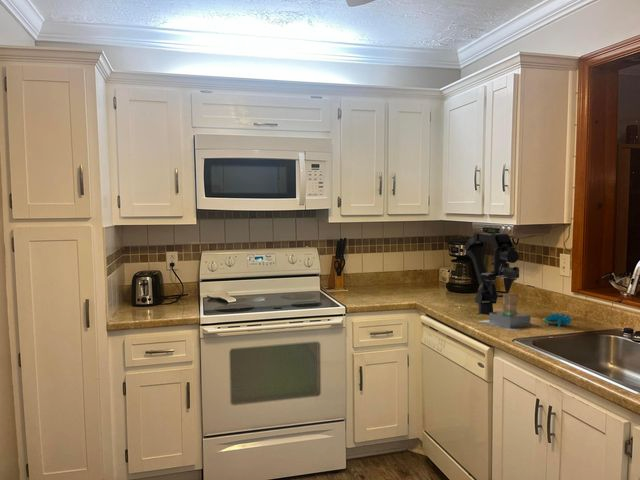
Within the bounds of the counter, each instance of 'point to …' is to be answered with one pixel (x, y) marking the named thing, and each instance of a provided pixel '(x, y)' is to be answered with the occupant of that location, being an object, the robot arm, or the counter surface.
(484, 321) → the base plate
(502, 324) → the guide block
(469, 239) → the robot arm
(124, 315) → the counter surface
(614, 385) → the counter surface
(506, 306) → the post
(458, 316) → the counter surface
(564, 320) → the blue spiky toy
